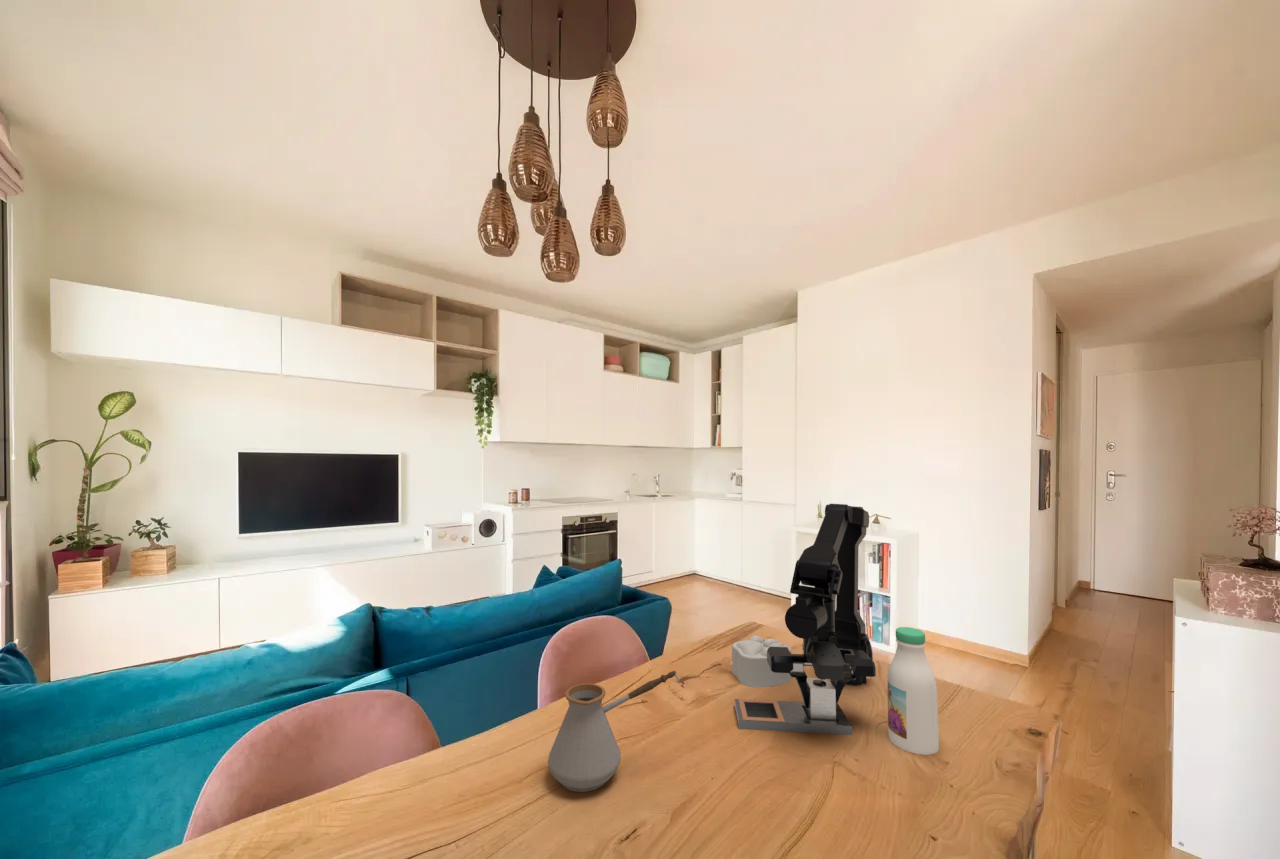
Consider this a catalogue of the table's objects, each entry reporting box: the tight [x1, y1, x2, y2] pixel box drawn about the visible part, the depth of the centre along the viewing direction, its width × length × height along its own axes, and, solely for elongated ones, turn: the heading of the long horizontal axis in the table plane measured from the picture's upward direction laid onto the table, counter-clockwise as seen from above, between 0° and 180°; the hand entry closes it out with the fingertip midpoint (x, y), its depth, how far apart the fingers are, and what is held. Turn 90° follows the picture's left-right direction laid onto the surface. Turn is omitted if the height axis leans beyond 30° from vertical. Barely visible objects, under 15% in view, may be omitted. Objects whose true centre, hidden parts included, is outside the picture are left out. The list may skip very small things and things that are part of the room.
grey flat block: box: [734, 698, 853, 736], centre depth 93 cm, size 20×8×3 cm, turn 85°
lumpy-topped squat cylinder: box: [731, 635, 793, 688], centre depth 112 cm, size 10×13×9 cm
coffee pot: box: [547, 670, 681, 793], centre depth 79 cm, size 21×12×15 cm, turn 101°
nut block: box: [805, 677, 836, 722], centre depth 92 cm, size 4×4×7 cm
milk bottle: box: [887, 626, 940, 756], centre depth 86 cm, size 8×8×20 cm
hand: (819, 707), depth 92 cm, fingers closed on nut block, 4 cm apart
